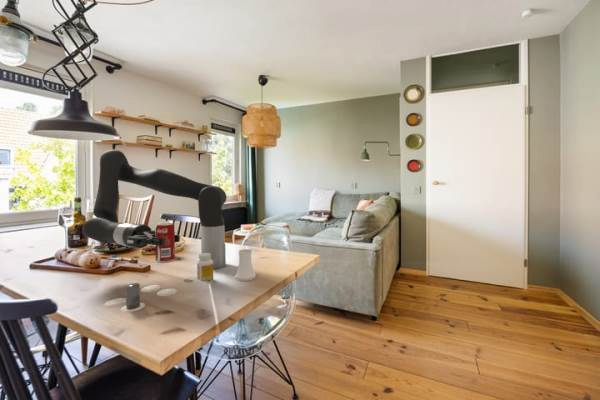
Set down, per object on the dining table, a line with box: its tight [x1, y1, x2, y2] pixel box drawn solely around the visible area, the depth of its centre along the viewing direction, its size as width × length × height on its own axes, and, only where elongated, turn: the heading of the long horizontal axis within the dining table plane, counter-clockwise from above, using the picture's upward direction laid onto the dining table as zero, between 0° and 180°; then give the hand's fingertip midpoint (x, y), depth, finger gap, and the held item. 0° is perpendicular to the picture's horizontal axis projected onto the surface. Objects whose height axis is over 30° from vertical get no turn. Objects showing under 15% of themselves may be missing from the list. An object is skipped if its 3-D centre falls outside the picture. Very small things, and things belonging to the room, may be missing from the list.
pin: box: [125, 282, 141, 310], centre depth 75 cm, size 3×3×6 cm
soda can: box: [154, 220, 176, 264], centre depth 84 cm, size 5×5×12 cm
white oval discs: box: [103, 284, 178, 313], centre depth 82 cm, size 22×13×1 cm, turn 157°
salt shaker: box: [234, 248, 257, 282], centre depth 103 cm, size 8×8×10 cm
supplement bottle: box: [196, 252, 214, 284], centre depth 98 cm, size 5×5×10 cm
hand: (171, 240), depth 83 cm, fingers closed on soda can, 5 cm apart
